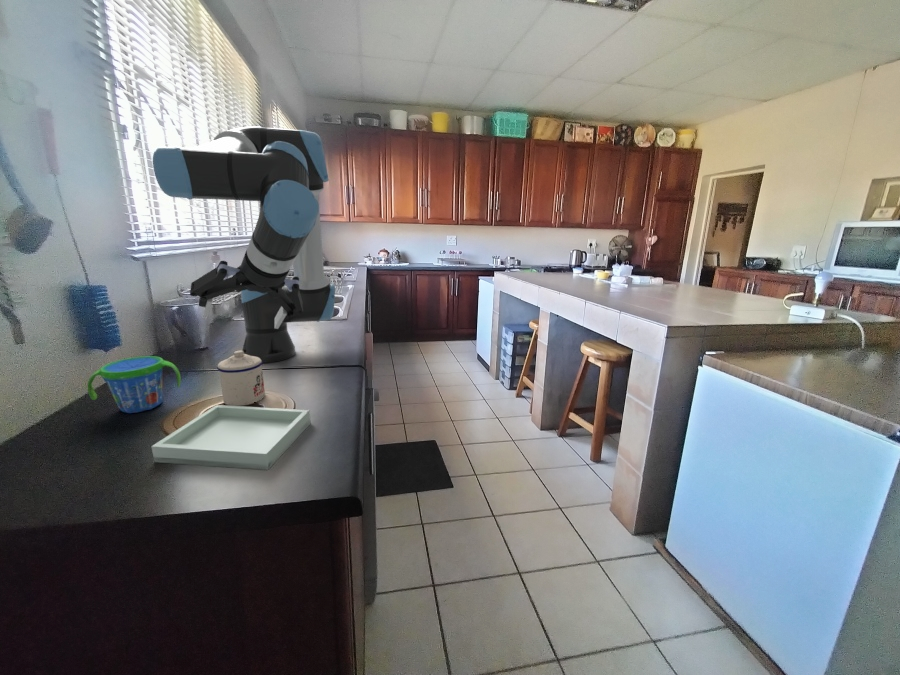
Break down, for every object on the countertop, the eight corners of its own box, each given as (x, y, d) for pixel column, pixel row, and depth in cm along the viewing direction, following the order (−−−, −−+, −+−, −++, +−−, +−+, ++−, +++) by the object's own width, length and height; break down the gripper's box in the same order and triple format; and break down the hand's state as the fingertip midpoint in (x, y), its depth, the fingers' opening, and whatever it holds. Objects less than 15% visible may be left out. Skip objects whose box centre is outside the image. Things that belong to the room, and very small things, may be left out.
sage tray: (218, 418, 79) (216, 404, 78) (310, 423, 77) (309, 410, 77) (154, 462, 64) (151, 446, 63) (268, 469, 62) (266, 453, 61)
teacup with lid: (264, 404, 86) (258, 355, 83) (218, 409, 83) (211, 359, 80) (268, 384, 97) (263, 341, 94) (228, 389, 93) (221, 344, 90)
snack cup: (85, 423, 76) (73, 376, 73) (106, 402, 85) (96, 360, 82) (178, 411, 82) (170, 366, 79) (188, 392, 91) (181, 352, 88)
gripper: (181, 256, 57) (168, 324, 71) (338, 290, 73) (302, 341, 87) (186, 220, 61) (173, 292, 75) (336, 260, 76) (301, 313, 90)
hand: (242, 318), depth 81 cm, fingers open, 13 cm apart
